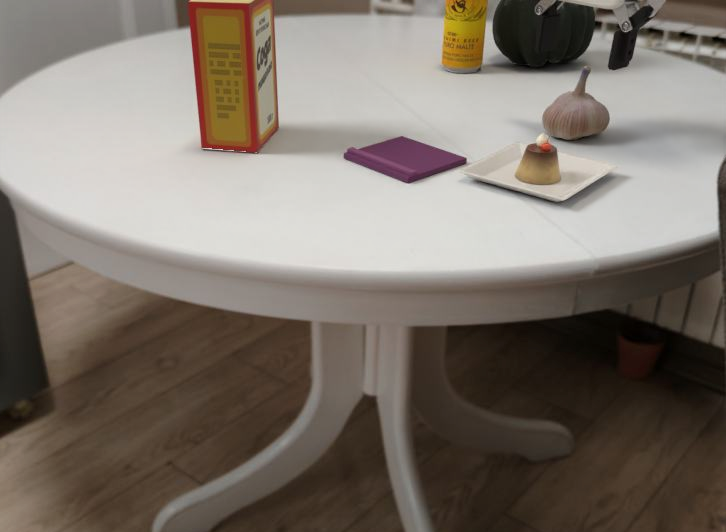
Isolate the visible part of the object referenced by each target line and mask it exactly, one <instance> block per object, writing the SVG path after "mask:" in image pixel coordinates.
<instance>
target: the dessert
mask: <svg viewBox="0 0 726 532" xmlns="http://www.w3.org/2000/svg"><path fill="white" fill-rule="evenodd" d="M550 137H551V134H549V135H547V133H545V132H542V133H541V134H540V135H538V136H537V138H536V141H535V143H530V144H528V143H525V142H520V141H516V142H514V143H512V144H510V145H508V146H506V147H503V148H501V149H500V150H497V151H495V152H493V153H491V154H489V155H487V156H485V157H483V158H481V159H479V160H477V161H475V162H473V163H470V164H469V165H467V166H464V167H463V168H461V169H458V170H457V172H459V173H460V174H463V175H465V176H467V177H469V178H471V179H474V180H475V181H479V182H481V183H486V184H490V185H493V186H497V187H500V188H504V189H507V190H511V191H514V192H519V193H521V194H526V195H529V196H532V197H533V196H534V197H537V198H540V199H544V200H547V201H551V202H554V203H558V202H562V201H566V200H568V199H570V198H572V197H573V196H574V195H576V194H578V193H579V192H581V191H583V190H585V188H587V187H589V186H591V185H592V184H593V183H595V182H597V181H599V180H600V179H602V178H603V177H605V176H606V175H608V174H610V173H611V172H613V171H615V170H616V169H618V168H619V165H618V164H617V165H616V164H612V163H609V162H608V163H607V162H605V161H599V160H595V159H591V158H587V157H583V156H578V155H574V154H570V153H565V152H562V151H558V148H557V147H556V146H555V145H552V144H551V138H550Z"/></svg>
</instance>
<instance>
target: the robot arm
mask: <svg viewBox="0 0 726 532" xmlns="http://www.w3.org/2000/svg"><path fill="white" fill-rule="evenodd" d="M532 1H533V3H534V5H535V12H536V14H537V15H539V20H538V27H537V34H536V47H535V52H537V53H543V52H547V51H552V50H554V49H556V46H557V39H558V33H559V27H560V20H561V16H560V15H561V13H557V10H558V9H559V8H560V7H561V6H562V5H563V3H564V2H569V3H575V4H580V5H586V6H591V7H593V8H597V9H604V10H612V12H613V14H614V17H615V19H616V21H617V23H618V26H619V30H615V31H614V33H613V38H612V41H611V46H610V47H611V48H610V52H609V58H608V64H607V68H608V70H611V71H617V70H620V69H624V68H628V67H629V66H630V63H631V61H632V60H633V57H634V54H635V48H636V42H637V40H638V39H637V38H638V33H639V30H641V29H643V28H645V25H646V24H648V23H649V22H650V21H652V19H654V18H655V17H657V15H658V14H659V10H660V9H661V8H662V7H663V6H664V4H665V3H666V1H667V0H646V2H645V4H644V5H643V6H642V7H640V6H639V4H641V3H643V1H644V0H532Z"/></svg>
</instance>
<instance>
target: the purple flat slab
mask: <svg viewBox="0 0 726 532" xmlns="http://www.w3.org/2000/svg"><path fill="white" fill-rule="evenodd" d="M343 159H345V160H347V161H350V162H353V163H355V164H358V165H360V166H363V167H366V168H368V169H371V170H373V171H376V172H379V173H381V174H383V175H386V176H389V177H391V178H393V179H397V180H399V181H402V182H404V183H406V184H409V183H412V182H416V181H419V180H421V179H424V178H428V177H430V176H433V175H436V174H439V173H441V172H444V171H448V170H450V169H453V168H456V167H458V166H462V165H465V164H467V161H468V157H467V156H466V157H465V156H462V155H460V154H457V153H453V152H450V151H448V150H445V149H442V148H438V147H435V146H433V145H430V144H427V143H424V142H421V141H418V140H416V139H413V138H409V137H407V136H403V135H401V136H397V137H394V138H393V137H392V138H390V139H386V140H383V141H380V142H377V143H373V144H369V145H367V146H364V147H360V148H356V147H354V146H350V147H348V148H346V151H345V152H343Z"/></svg>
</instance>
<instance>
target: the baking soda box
mask: <svg viewBox="0 0 726 532" xmlns="http://www.w3.org/2000/svg"><path fill="white" fill-rule="evenodd" d="M274 2H275V1H274V0H188V1H187V11H188V20H189V21H188V22H189V30H190V41H191V51H192V62H193V73H194V81H195V82H194V83H195V93H196V103H197V115H198V123H199V124H198V126H199V135H200V144H201V146H200V147H201V149H202V148H212V149H223V150H234V151H246V152H258V151H259V150H260V149H261V148H262V149H263V147H264V146H265V145H266V144H267V143H268V141H269V140H270V139H271V138H272V137H273V135H274V134H275V133H276V132H277V131H278V129H280V123H279V120H280V119H279V98H278V97H279V95H278V76H277V75H278V74H277V51H276V49H277V48H276V29H275V27H276V26H275V5H274ZM276 130H277V131H276ZM275 131H276V132H275ZM271 136H272V137H271ZM270 137H271V138H270ZM269 138H270V139H269ZM268 139H269V140H268ZM267 140H268V141H267ZM266 142H267V143H266ZM265 143H266V144H265ZM264 144H265V145H264ZM263 145H264V146H263ZM262 146H263V147H262ZM262 149H261V150H262ZM261 150H260V151H261ZM260 151H259V152H260ZM259 152H258V153H259Z"/></svg>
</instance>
